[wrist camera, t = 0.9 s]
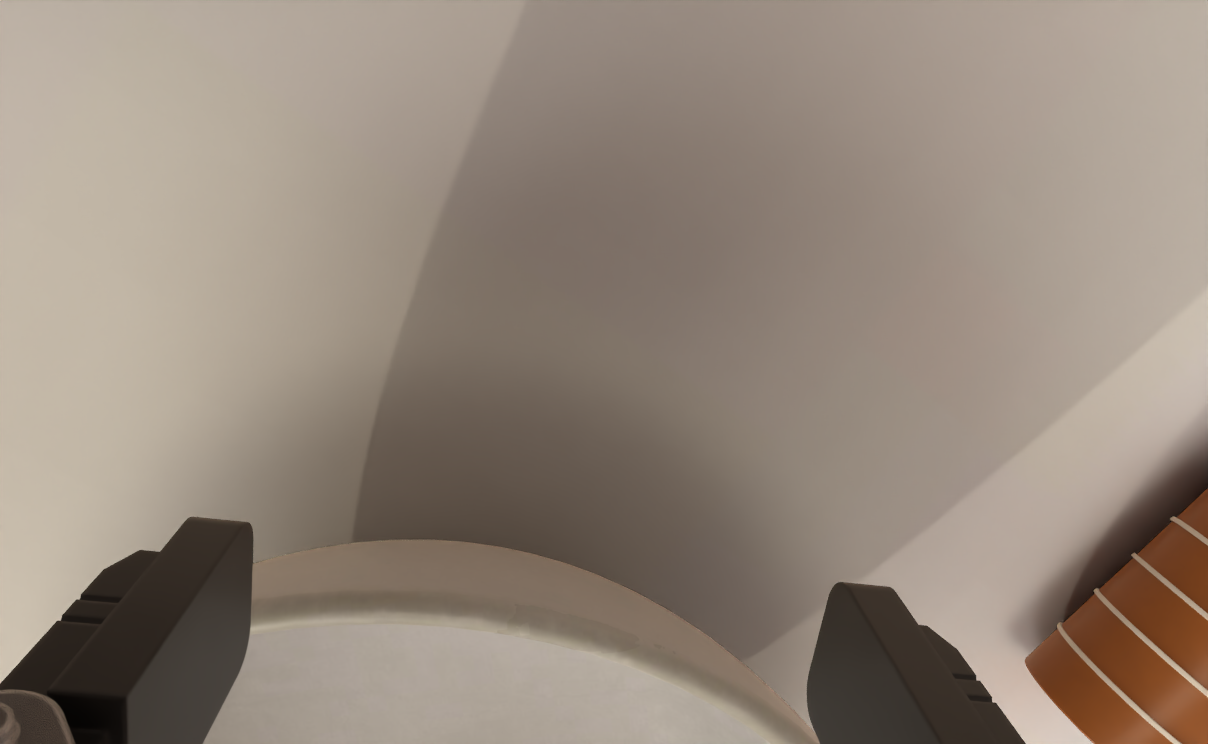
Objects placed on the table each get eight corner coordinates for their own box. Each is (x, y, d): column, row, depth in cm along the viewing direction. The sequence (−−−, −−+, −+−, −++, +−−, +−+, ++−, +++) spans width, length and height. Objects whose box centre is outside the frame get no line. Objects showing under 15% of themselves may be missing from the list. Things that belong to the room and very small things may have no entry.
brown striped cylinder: (1097, 704, 35) (1212, 839, 29) (988, 625, 33) (1087, 750, 27) (1298, 523, 33) (1468, 629, 27) (1193, 429, 31) (1350, 518, 25)
